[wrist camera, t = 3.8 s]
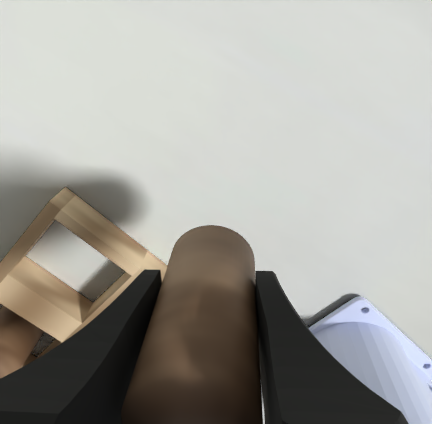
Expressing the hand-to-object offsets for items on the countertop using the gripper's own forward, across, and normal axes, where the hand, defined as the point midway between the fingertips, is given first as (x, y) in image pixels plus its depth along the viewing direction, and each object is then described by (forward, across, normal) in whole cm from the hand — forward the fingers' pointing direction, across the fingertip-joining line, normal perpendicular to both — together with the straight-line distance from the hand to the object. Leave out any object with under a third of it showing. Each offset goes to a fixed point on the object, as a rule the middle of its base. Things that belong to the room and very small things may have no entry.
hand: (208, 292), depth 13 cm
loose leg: (+2, 0, 0) cm, 2 cm away
